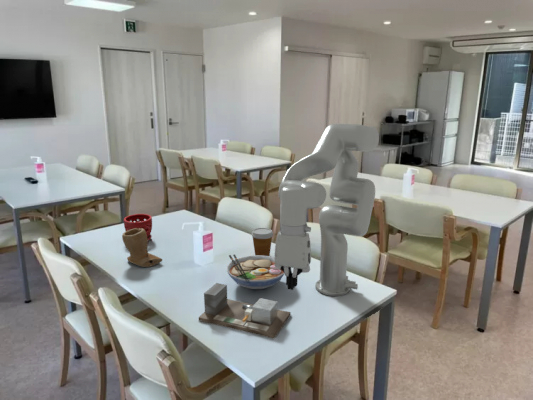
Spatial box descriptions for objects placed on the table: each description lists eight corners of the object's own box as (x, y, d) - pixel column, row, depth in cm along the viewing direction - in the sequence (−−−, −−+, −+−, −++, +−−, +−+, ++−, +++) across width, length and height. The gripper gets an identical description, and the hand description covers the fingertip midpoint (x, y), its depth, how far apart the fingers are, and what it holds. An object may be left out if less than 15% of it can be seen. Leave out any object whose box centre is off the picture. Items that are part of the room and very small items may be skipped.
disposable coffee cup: (248, 259, 179) (247, 233, 176) (256, 251, 188) (256, 226, 184) (268, 262, 176) (268, 235, 172) (276, 254, 184) (276, 229, 181)
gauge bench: (290, 315, 134) (290, 292, 131) (274, 338, 121) (274, 313, 119) (220, 300, 143) (219, 279, 141) (198, 320, 131) (197, 297, 129)
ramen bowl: (297, 295, 146) (297, 274, 144) (234, 305, 140) (233, 283, 138) (275, 268, 170) (275, 249, 168) (221, 275, 163) (220, 255, 161)
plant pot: (120, 242, 200) (117, 218, 197) (141, 234, 211) (140, 212, 208) (137, 247, 193) (135, 223, 190) (159, 239, 204) (157, 216, 201)
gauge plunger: (277, 315, 131) (277, 301, 130) (270, 325, 125) (270, 310, 124) (247, 309, 135) (247, 295, 133) (239, 318, 129) (239, 304, 128)
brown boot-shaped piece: (119, 262, 176) (116, 229, 172) (144, 254, 184) (142, 222, 181) (138, 272, 166) (134, 237, 162) (163, 264, 174) (161, 230, 170)
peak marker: (253, 318, 129) (253, 309, 129) (246, 326, 125) (246, 317, 124) (247, 316, 130) (247, 308, 129) (240, 324, 126) (240, 316, 125)
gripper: (321, 228, 118) (319, 287, 123) (273, 222, 124) (272, 278, 128) (314, 236, 112) (312, 297, 116) (264, 229, 117) (263, 288, 122)
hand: (291, 287), depth 122 cm, fingers closed
